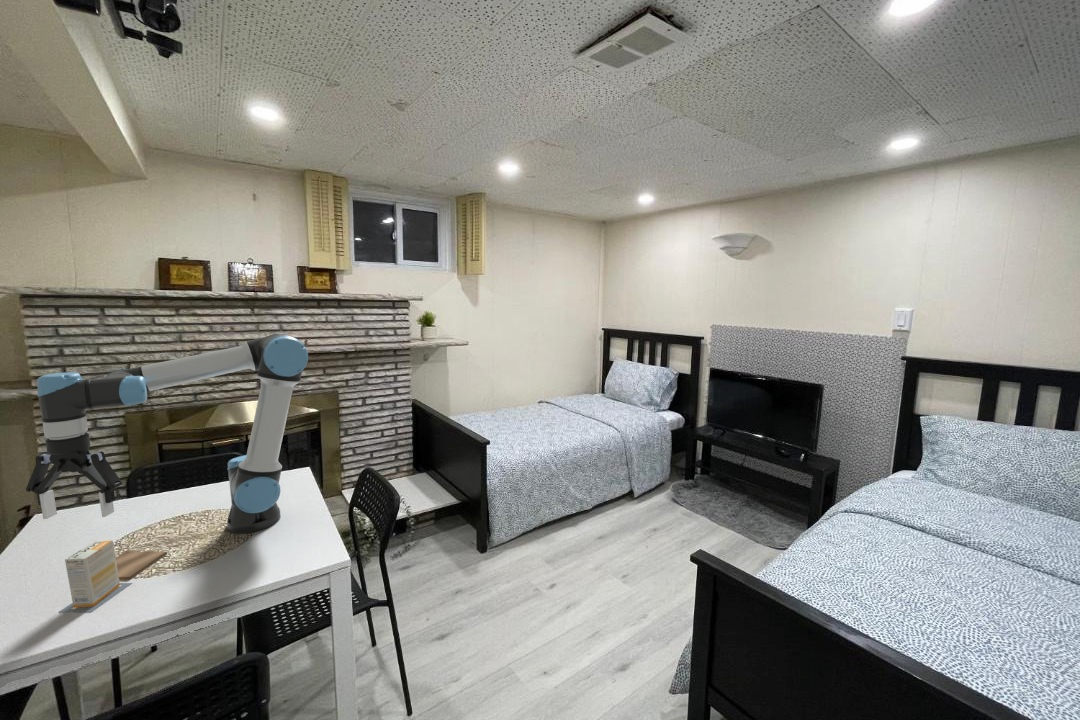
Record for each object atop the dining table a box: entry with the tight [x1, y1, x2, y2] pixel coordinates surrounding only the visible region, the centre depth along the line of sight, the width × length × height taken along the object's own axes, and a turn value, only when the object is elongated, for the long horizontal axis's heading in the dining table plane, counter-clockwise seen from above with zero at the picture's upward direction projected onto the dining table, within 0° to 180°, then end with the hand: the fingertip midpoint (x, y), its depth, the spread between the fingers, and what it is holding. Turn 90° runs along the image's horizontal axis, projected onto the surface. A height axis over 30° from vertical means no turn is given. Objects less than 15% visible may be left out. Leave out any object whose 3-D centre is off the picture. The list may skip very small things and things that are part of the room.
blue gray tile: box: [58, 582, 133, 613], centre depth 114 cm, size 8×11×1 cm
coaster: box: [115, 550, 168, 581], centre depth 127 cm, size 12×12×1 cm
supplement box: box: [64, 540, 121, 607], centre depth 113 cm, size 8×5×13 cm, turn 5°
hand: (79, 515), depth 115 cm, fingers open, 13 cm apart
